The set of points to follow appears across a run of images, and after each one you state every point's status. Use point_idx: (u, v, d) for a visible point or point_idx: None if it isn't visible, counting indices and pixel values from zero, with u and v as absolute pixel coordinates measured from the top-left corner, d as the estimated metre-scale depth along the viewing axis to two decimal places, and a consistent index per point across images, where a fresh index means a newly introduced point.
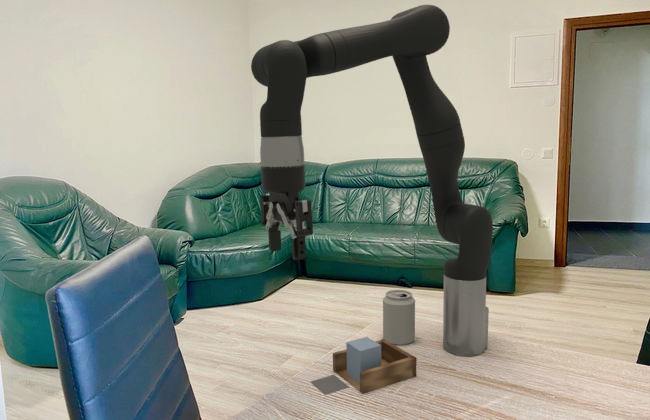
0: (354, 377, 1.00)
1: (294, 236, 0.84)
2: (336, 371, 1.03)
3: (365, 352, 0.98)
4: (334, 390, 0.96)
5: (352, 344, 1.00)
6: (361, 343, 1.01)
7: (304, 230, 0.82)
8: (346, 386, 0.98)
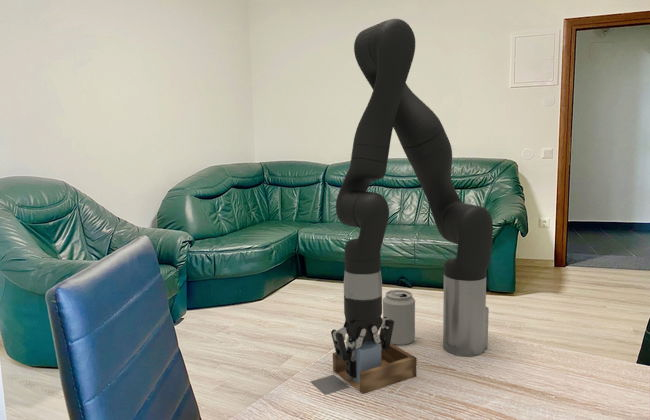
0: None
1: (381, 351, 1.01)
2: (336, 371, 1.03)
3: (365, 352, 0.98)
4: (334, 390, 0.96)
5: None
6: None
7: None
8: (346, 386, 0.98)
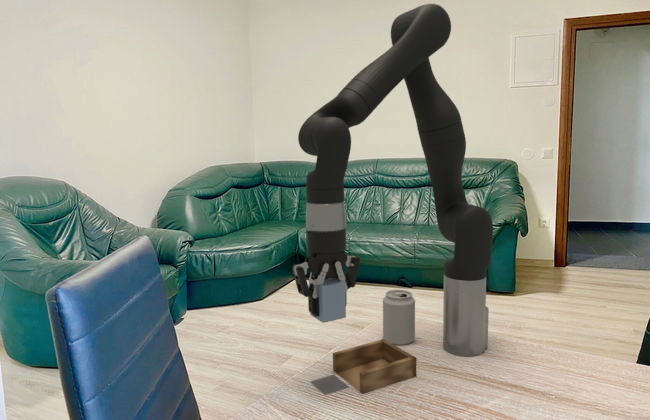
0: None
1: (346, 290, 0.97)
2: (336, 371, 1.03)
3: (328, 288, 0.93)
4: (334, 390, 0.96)
5: None
6: (325, 280, 0.96)
7: None
8: (346, 386, 0.98)
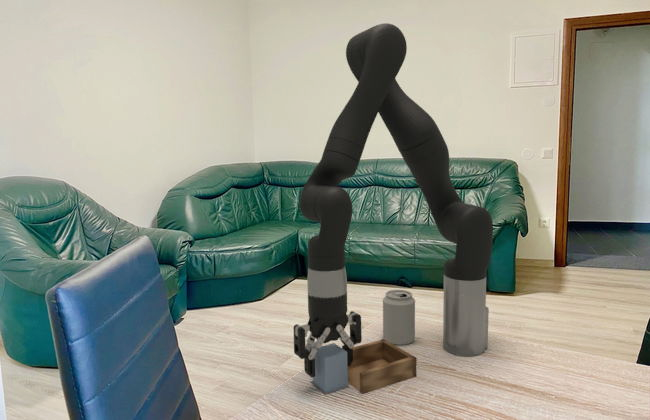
0: (319, 385, 0.97)
1: (353, 346, 0.99)
2: None
3: (330, 359, 0.95)
4: (334, 390, 0.96)
5: (317, 351, 0.97)
6: (327, 350, 0.98)
7: None
8: (346, 386, 0.98)
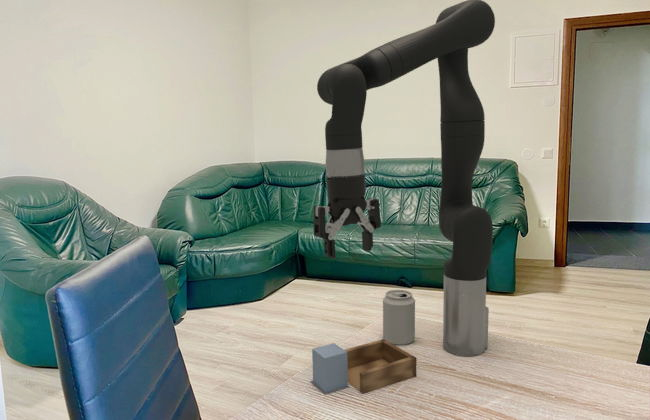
0: (319, 385, 0.97)
1: (372, 229, 1.00)
2: None
3: (330, 359, 0.95)
4: (334, 390, 0.96)
5: (317, 351, 0.97)
6: (327, 350, 0.98)
7: None
8: (346, 386, 0.98)
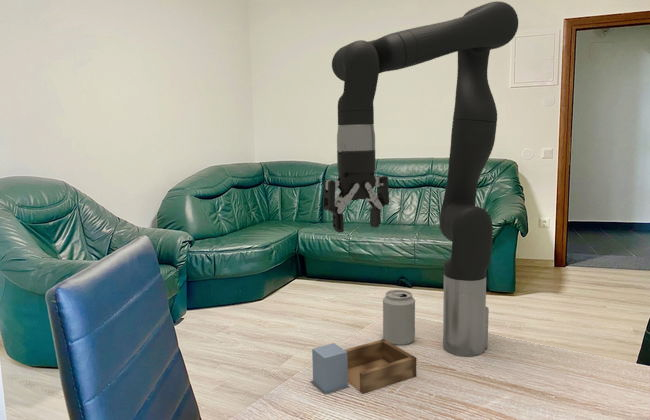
0: (319, 385, 0.97)
1: (381, 206, 1.02)
2: None
3: (330, 359, 0.95)
4: (334, 390, 0.96)
5: (317, 351, 0.97)
6: (327, 350, 0.98)
7: None
8: (346, 386, 0.98)
